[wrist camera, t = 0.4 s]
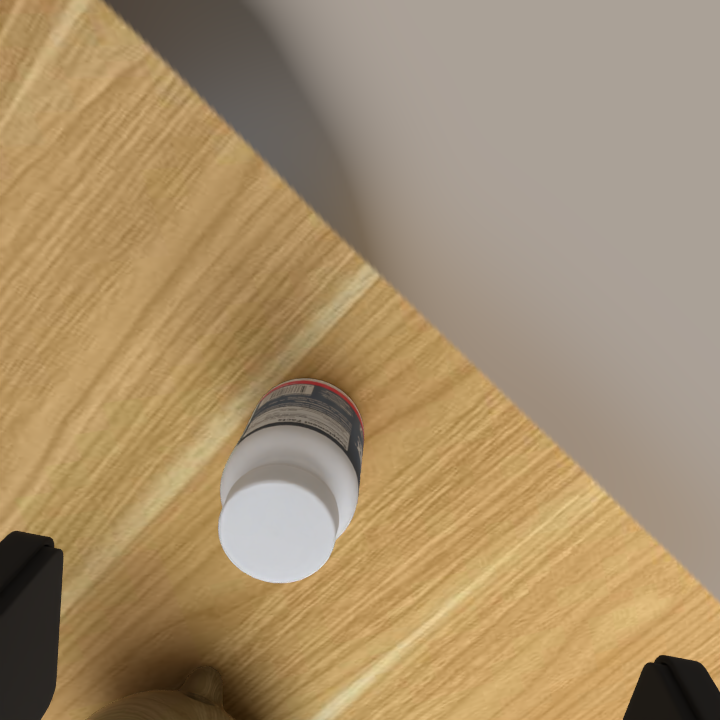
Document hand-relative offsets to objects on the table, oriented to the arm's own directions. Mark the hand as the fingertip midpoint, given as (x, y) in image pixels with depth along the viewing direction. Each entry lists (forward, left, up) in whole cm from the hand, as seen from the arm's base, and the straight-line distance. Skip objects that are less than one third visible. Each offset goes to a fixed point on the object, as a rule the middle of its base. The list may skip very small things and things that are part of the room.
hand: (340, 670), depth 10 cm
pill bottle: (+2, -5, -20) cm, 20 cm away
